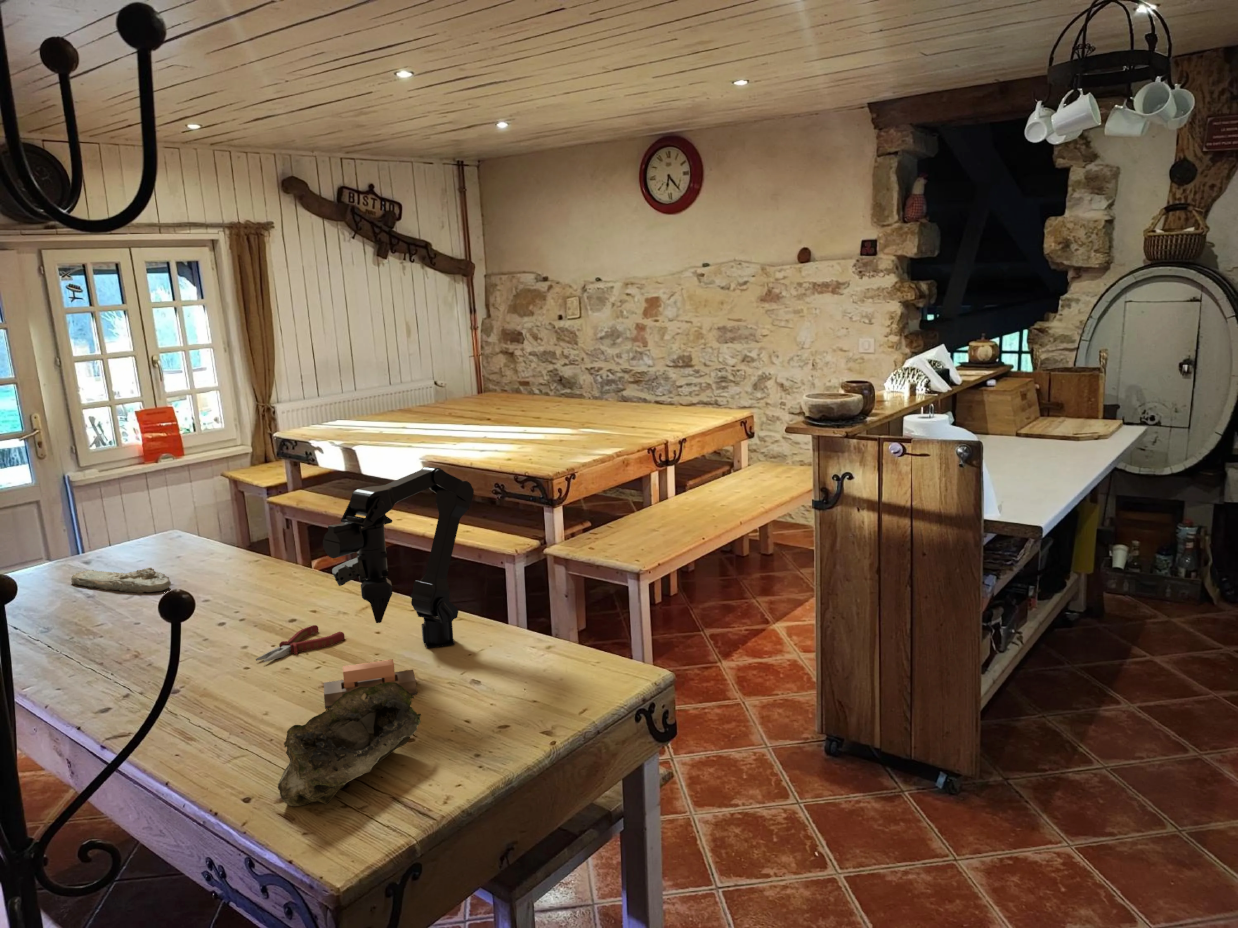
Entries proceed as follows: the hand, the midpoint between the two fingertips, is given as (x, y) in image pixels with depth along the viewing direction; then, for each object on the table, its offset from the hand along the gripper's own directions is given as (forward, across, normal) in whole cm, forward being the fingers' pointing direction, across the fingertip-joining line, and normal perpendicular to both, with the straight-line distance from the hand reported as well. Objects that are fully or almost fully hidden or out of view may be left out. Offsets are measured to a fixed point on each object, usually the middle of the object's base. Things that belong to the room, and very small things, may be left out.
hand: (377, 615), depth 197 cm
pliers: (+13, -21, -18) cm, 30 cm away
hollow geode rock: (+12, +46, -7) cm, 48 cm away
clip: (+12, +14, -3) cm, 18 cm away
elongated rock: (+13, -89, -68) cm, 113 cm away
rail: (+12, +14, -3) cm, 19 cm away
